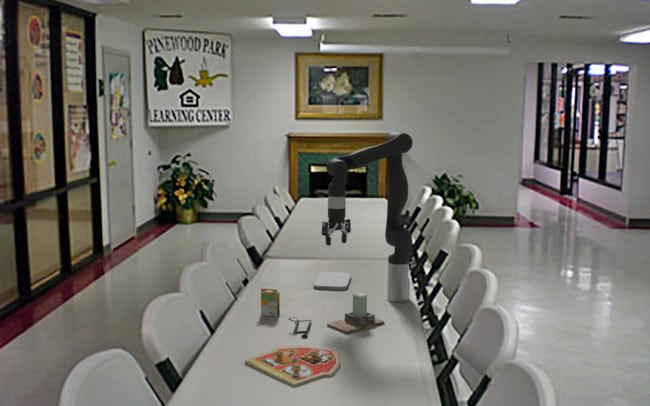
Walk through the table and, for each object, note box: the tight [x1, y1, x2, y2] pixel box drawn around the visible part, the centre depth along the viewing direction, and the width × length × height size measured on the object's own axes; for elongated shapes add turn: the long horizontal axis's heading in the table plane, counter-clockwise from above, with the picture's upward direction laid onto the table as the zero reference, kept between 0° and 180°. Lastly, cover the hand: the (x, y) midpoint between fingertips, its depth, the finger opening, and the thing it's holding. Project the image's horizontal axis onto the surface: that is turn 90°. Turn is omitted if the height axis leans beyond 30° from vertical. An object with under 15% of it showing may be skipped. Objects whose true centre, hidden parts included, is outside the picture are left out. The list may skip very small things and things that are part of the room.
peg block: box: [352, 292, 368, 318], centre depth 266 cm, size 4×4×11 cm
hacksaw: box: [288, 316, 313, 339], centre depth 262 cm, size 24×10×2 cm, turn 175°
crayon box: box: [260, 287, 281, 318], centre depth 276 cm, size 7×3×12 cm, turn 74°
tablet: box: [313, 271, 352, 291], centre depth 327 cm, size 16×26×2 cm, turn 173°
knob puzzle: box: [244, 345, 341, 388], centre depth 226 cm, size 29×30×4 cm
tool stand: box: [326, 311, 385, 335], centre depth 265 cm, size 20×12×4 cm, turn 129°
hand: (336, 244), depth 283 cm, fingers open, 8 cm apart
